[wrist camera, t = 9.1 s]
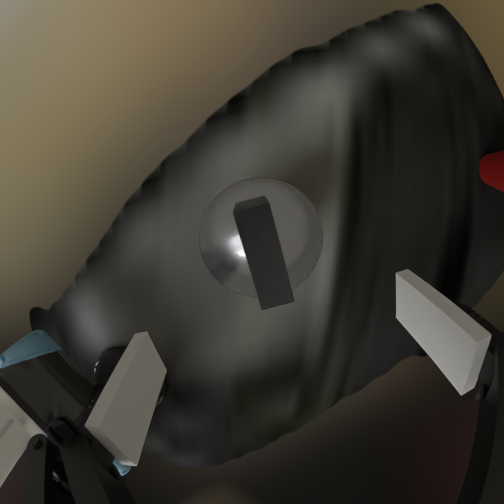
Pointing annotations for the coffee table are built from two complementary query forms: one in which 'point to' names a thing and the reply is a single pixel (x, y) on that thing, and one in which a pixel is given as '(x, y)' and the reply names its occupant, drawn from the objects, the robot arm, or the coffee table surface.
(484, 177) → the plastic cup
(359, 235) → the coffee table surface
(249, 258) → the steel lid
